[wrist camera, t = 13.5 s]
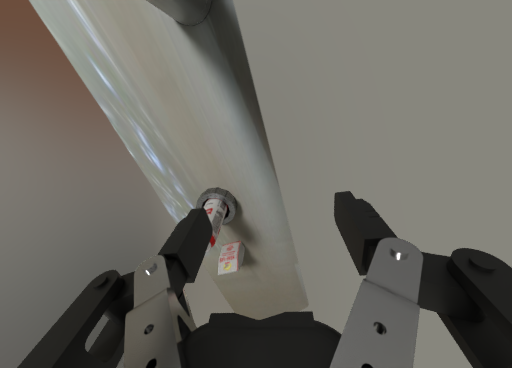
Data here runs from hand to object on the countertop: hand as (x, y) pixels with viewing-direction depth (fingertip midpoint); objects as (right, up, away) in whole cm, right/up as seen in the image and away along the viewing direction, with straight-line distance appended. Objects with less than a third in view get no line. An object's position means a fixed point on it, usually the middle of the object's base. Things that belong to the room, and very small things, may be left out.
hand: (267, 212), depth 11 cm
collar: (-12, -4, +43) cm, 44 cm away
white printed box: (-8, -20, +51) cm, 56 cm away
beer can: (-12, -4, +42) cm, 44 cm away
